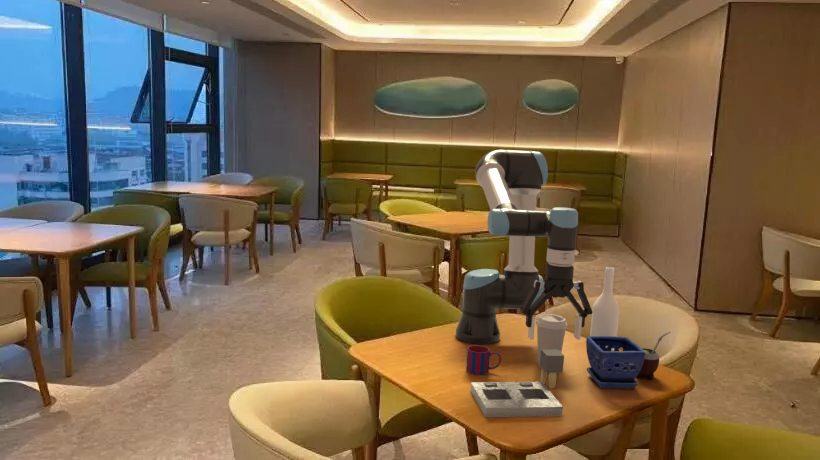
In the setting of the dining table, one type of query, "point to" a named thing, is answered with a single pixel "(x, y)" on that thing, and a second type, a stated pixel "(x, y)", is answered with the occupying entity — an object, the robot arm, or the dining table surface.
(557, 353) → the plug
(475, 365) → the cup
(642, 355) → the flower pot
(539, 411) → the socket
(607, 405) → the dining table surface
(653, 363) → the mate gourd
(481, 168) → the robot arm
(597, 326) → the bottle
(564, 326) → the coffee cup
